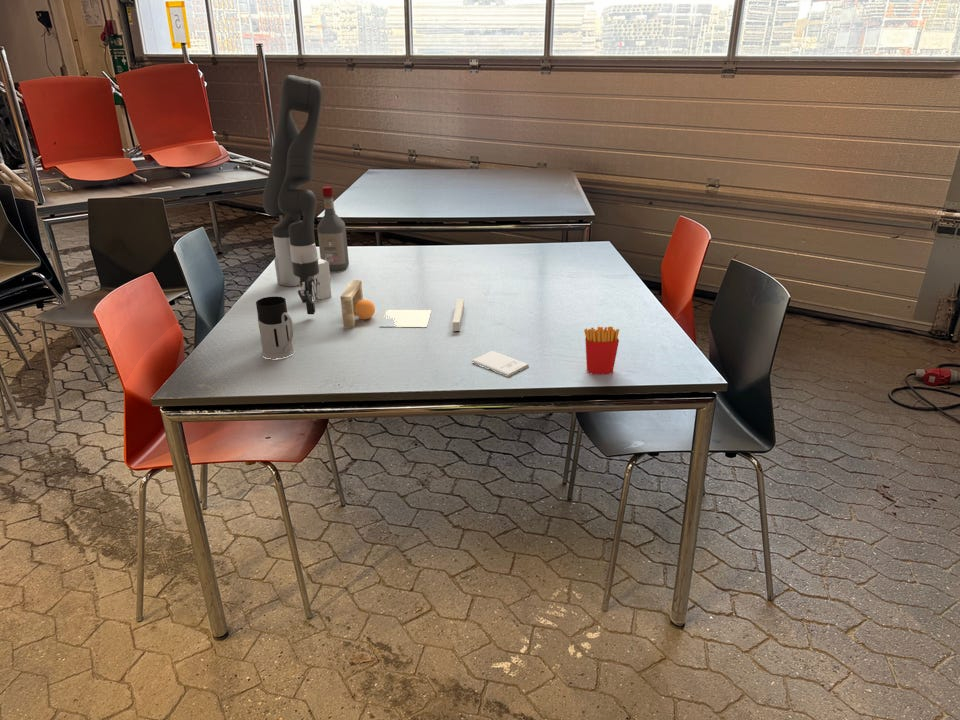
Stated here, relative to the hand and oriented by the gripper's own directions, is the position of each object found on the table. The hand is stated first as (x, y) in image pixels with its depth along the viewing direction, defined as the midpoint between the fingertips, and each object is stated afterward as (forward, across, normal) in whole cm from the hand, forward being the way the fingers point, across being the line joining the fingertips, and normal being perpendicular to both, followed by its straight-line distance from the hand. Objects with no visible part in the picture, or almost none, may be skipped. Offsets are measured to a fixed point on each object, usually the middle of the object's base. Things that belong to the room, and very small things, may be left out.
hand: (311, 313), depth 202 cm
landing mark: (+2, 0, +29) cm, 29 cm away
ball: (-2, 0, +17) cm, 17 cm away
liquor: (+2, -51, -5) cm, 51 cm away
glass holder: (+2, +28, 0) cm, 28 cm away
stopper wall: (+2, 0, +45) cm, 45 cm away
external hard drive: (+2, +32, +58) cm, 66 cm away
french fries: (+2, +35, +83) cm, 90 cm away
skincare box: (+2, -20, -2) cm, 20 cm away
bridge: (+2, 0, +13) cm, 13 cm away
